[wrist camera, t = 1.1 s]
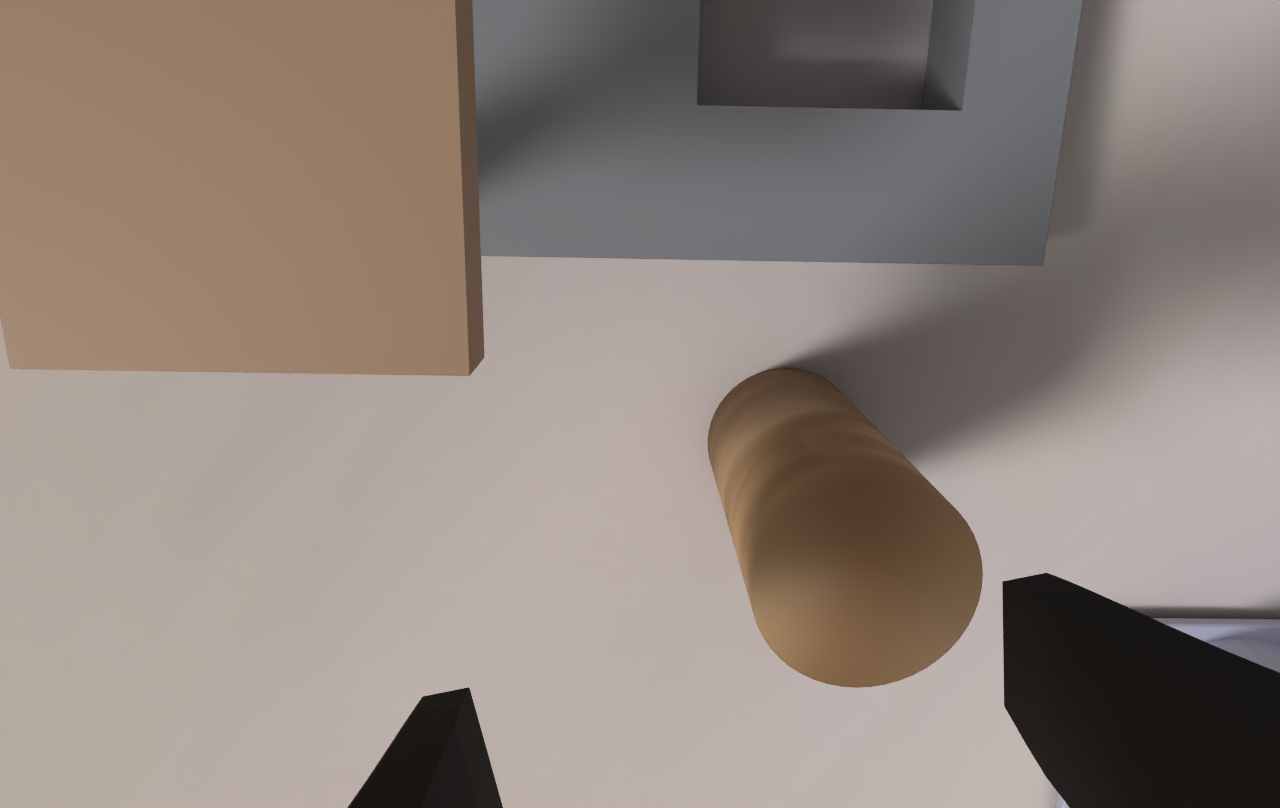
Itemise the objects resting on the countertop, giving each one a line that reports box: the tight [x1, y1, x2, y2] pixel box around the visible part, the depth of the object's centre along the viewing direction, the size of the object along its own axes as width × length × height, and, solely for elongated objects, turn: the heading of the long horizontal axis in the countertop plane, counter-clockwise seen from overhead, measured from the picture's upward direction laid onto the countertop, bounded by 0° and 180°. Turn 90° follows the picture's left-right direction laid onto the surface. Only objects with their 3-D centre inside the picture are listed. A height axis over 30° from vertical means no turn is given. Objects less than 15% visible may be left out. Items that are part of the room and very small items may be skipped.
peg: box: [708, 368, 983, 687], centre depth 18 cm, size 4×4×8 cm
